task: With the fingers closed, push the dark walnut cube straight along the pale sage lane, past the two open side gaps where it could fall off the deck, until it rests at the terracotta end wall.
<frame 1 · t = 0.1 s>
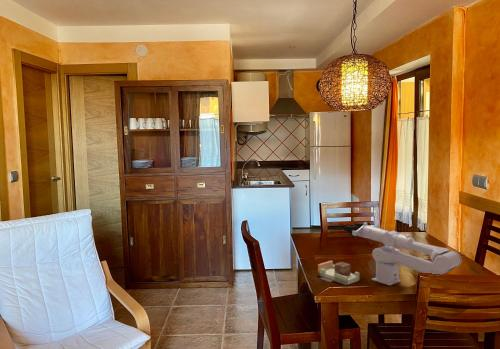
hand: (349, 226, 188), 21 cm above the table, tool horizontal, fingers open, 7 cm apart
walnut block: (342, 274, 177), point 2 cm above the table, touching trap lane
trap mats: (338, 277, 180), on the table
trap lane: (338, 277, 180), on the table
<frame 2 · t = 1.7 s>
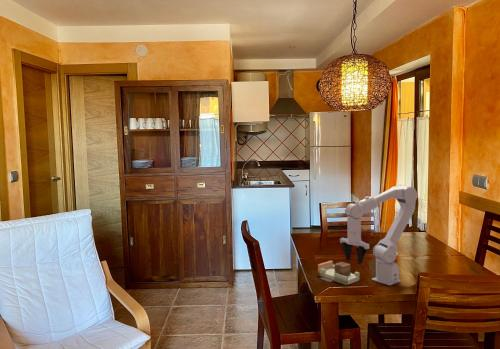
hand: (354, 261, 171), 10 cm above the table, tool pointing down, fingers open, 6 cm apart
nothing on the table moved.
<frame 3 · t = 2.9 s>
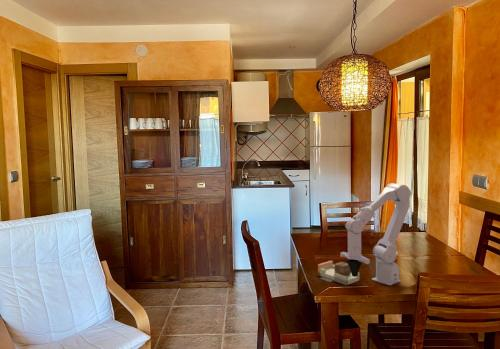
hand: (354, 276, 172), 3 cm above the table, tool pointing down, fingers closed
nothing on the table moved.
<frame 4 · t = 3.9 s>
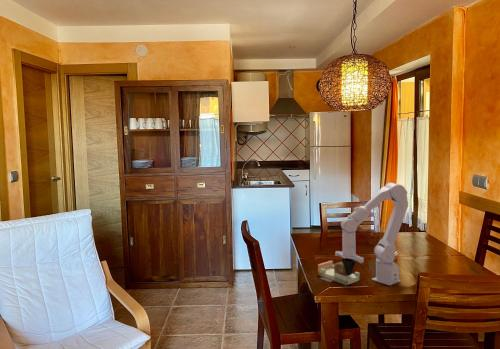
hand: (349, 274, 174), 3 cm above the table, tool pointing down, fingers closed
walnut block: (342, 274, 178), point 2 cm above the table, touching gripper
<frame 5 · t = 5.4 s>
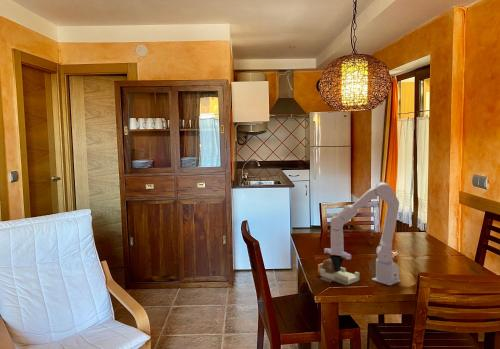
hand: (337, 270, 180), 3 cm above the table, tool pointing down, fingers closed
walnut block: (330, 271, 183), point 2 cm above the table, touching gripper, trap lane
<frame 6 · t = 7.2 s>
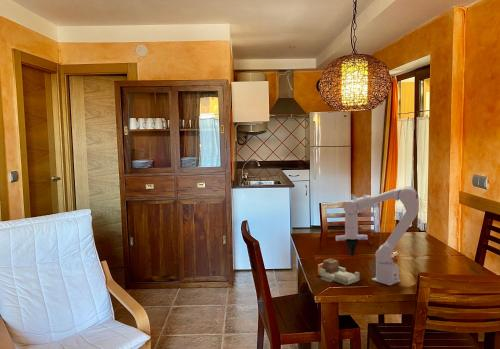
hand: (351, 255, 181), 10 cm above the table, tool pointing down, fingers closed
walnut block: (330, 271, 183), point 2 cm above the table, touching trap lane
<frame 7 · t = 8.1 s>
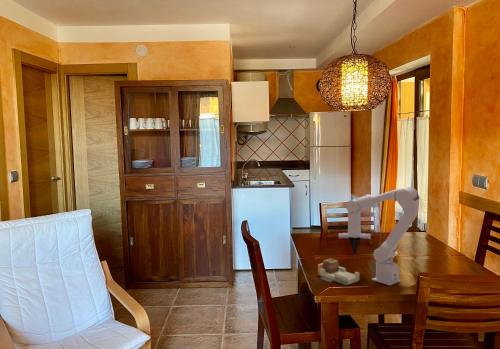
hand: (354, 253, 184), 10 cm above the table, tool pointing down, fingers closed
nothing on the table moved.
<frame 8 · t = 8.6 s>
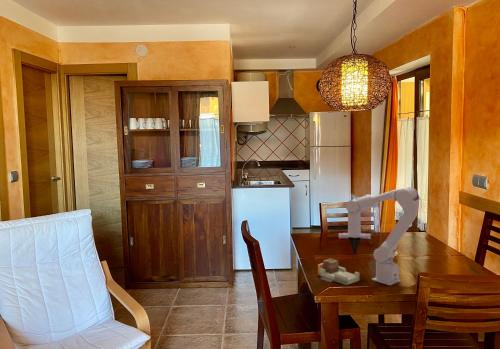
hand: (354, 253, 184), 10 cm above the table, tool pointing down, fingers closed
nothing on the table moved.
at the end: walnut block 0.4 cm from the target spot, point 2.0 cm above the table; walnut block tilted 0° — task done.
